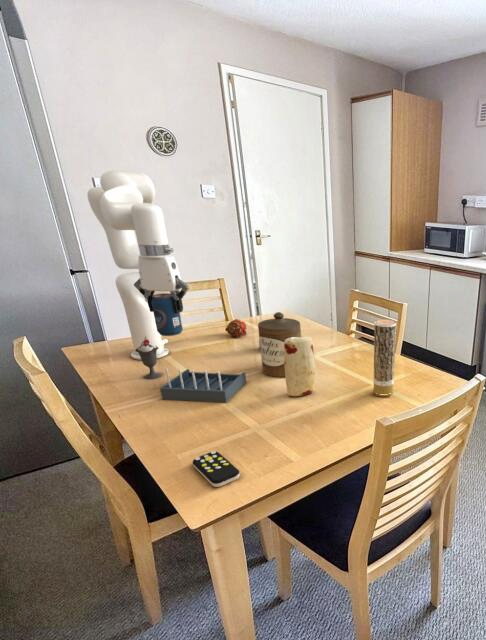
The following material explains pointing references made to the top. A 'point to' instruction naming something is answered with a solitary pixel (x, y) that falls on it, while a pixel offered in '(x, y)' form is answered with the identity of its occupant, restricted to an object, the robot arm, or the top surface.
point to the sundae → (148, 357)
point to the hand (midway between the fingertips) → (166, 311)
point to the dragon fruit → (236, 328)
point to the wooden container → (276, 342)
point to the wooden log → (384, 357)
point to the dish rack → (202, 386)
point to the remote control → (216, 469)
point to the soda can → (166, 315)
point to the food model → (299, 365)
